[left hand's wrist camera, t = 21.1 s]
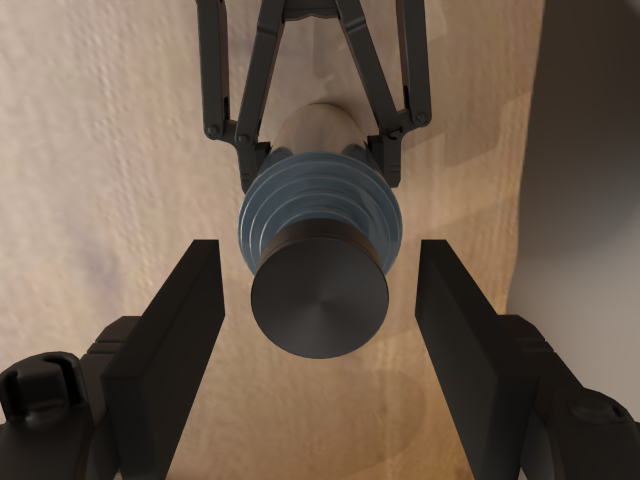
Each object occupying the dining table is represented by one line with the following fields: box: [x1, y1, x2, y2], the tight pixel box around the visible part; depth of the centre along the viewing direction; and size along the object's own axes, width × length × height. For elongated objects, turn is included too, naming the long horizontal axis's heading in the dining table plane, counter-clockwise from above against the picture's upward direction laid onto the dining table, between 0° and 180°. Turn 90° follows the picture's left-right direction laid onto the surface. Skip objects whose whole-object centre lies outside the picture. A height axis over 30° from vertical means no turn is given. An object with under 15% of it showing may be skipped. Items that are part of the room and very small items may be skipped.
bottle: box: [237, 103, 403, 276], centre depth 25 cm, size 7×7×24 cm
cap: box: [251, 218, 389, 359], centre depth 14 cm, size 4×4×2 cm
